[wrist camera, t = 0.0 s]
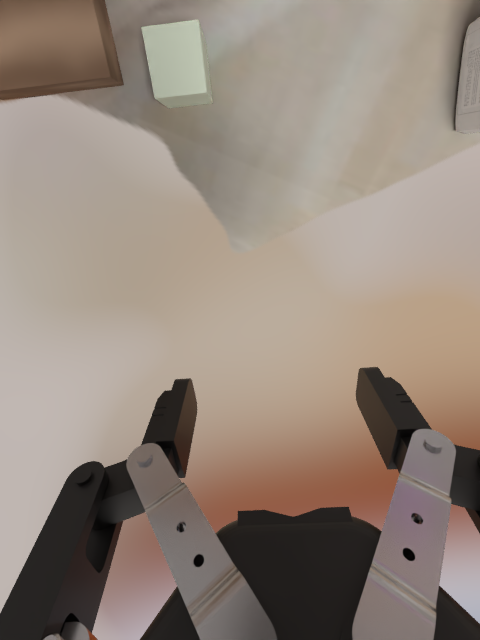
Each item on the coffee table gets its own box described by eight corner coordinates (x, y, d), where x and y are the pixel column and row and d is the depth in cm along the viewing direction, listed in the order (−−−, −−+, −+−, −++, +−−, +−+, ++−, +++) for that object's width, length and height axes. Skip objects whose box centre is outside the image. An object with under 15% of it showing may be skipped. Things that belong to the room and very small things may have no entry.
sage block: (159, 50, 30) (141, 26, 25) (206, 44, 30) (198, 19, 25) (169, 108, 33) (154, 98, 27) (212, 103, 32) (206, 92, 27)
